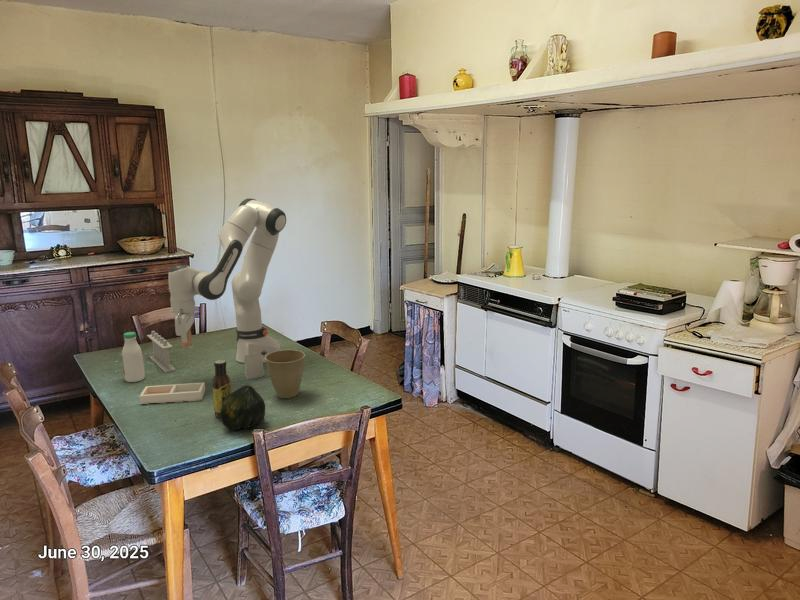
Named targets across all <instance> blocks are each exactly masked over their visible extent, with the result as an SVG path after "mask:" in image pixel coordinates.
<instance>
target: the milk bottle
mask: <svg viewBox="0 0 800 600" xmlns="http://www.w3.org/2000/svg"><path fill="white" fill-rule="evenodd" d="M123 340H124V344H123V346H122V347H123V348H122V351H121V358H122V367H123V375H124V380H125V382H127V383H136V382H140V381H142V380H143V381H144V379H145V378H146V373H145V366H144V365H145V363H144V358H143V352H142V351H143V350H142V349H141V346H140V344H138V342H137V333H136V332H135V331H127V332H124V333H123Z"/></svg>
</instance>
